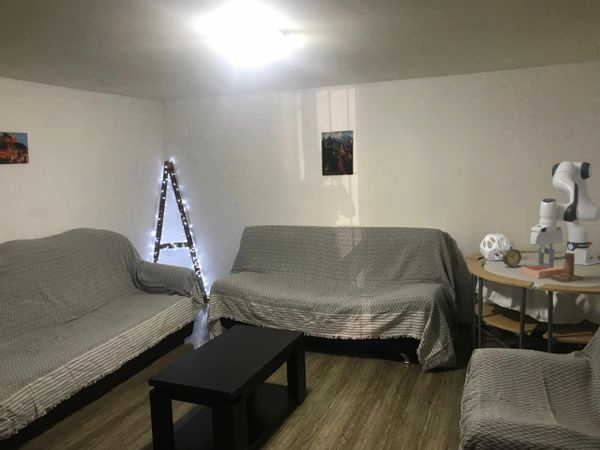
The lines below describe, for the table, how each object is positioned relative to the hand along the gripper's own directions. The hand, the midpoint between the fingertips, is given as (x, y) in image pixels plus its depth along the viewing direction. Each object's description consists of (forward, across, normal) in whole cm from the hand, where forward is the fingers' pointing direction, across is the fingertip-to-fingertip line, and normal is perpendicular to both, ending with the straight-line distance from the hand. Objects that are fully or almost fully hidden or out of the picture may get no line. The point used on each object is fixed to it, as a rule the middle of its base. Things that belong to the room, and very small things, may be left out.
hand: (546, 251), depth 270 cm
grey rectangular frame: (+8, 0, 0) cm, 8 cm away
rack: (+17, -13, 0) cm, 22 cm away
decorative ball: (+17, -13, -57) cm, 61 cm away
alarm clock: (+17, -7, -35) cm, 40 cm away
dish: (+17, -11, -13) cm, 24 cm away
